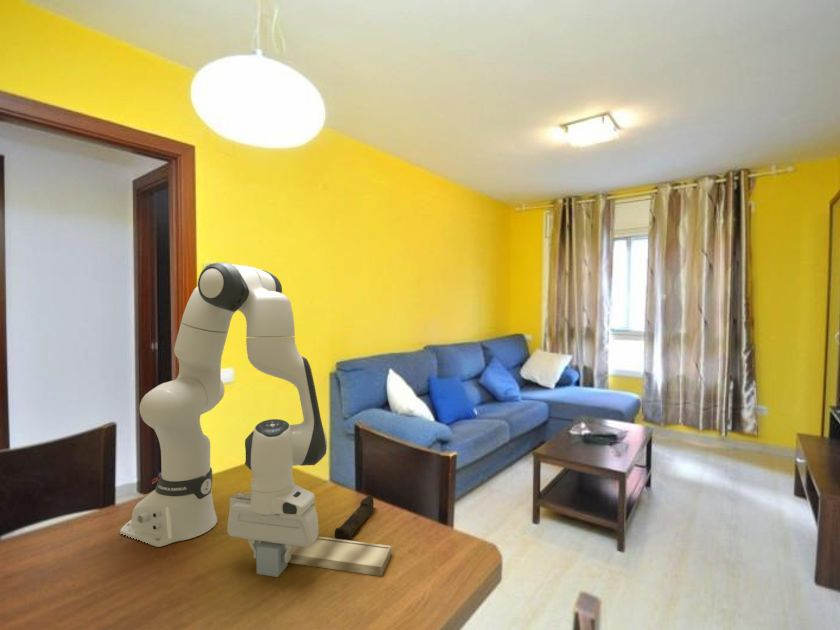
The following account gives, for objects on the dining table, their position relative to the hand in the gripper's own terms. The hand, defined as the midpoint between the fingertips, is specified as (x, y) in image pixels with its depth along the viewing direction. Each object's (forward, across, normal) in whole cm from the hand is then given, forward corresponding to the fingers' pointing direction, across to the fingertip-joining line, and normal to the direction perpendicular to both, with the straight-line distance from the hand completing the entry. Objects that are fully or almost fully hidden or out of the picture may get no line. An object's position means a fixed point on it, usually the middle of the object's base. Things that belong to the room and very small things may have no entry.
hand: (272, 559), depth 92 cm
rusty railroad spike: (+3, +11, +22) cm, 25 cm away
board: (+2, +10, +7) cm, 12 cm away
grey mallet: (+2, 0, +4) cm, 5 cm away
